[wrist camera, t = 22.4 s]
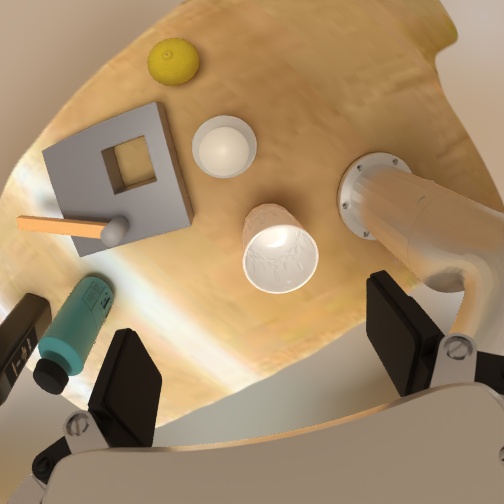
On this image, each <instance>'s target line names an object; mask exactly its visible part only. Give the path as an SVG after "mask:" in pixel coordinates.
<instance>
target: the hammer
mask: <svg viewBox="0 0 504 504" xmlns="http://www.w3.org/2000/svg"><path fill="white" fill-rule="evenodd" d="M17 223H18V230H26V231H35V232H44V233H53V234H62V235H71V236H80V237H89V238H99V239H101V240H102V242H103V243H104V244H105V245H106V246H108V247H114V246H116V245H117V244H118V243H119V242H120V240H121V239H122V238H123V237H124V235H125V234H126V233H127V231H128V230H129V222H128V220H127V219H126V218H125V217H123V216H116V217H114V218H113V219H112V220H111V221H110V222H109V223H102V222H91V221H80V220H69V219H58V218H47V217H35V216H24V215H21V216H19V217H17Z"/></svg>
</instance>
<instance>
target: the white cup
mask: <svg viewBox="0 0 504 504" xmlns="http://www.w3.org/2000/svg"><path fill="white" fill-rule="evenodd" d="M242 239H243V240H242V250H243V268H244V272H245V274H246V276H247V278H248V280H249V281H250V282H251V283H252V284H253V285H254V286H255V287H257V288H258V289H260V290H262V291H265V292H268V293H276V294H279V293H287V292H290V291H293V290H296V289H298V288H299V287H301V286H302V285H304V284H305V283H306V282H307V281H308V280H309V279H310V278H311V277H312V275H313V274H314V272H315V270H316V267H317V264H318V257H319V256H318V248H317V245H316V243H315V241H314V239H313V238H312V237H311V235H310V234H309V233H308V232H307V231H306V230H305V228H304V227H303V226H302V225H301V224H300V223H299V221H298V220H297V219H296V218H295V217H294V216H293V215H292V214H290V213H289V212H288V211H287V210H286V208H284V207H282V206H279V205H277V204H275V203H271V204H261V205H259V206H257V207H255V208H254V209H252V210H251V211H250V213H249V214H248V215H247V217H246V218H245V222H244V226H243V238H242Z"/></svg>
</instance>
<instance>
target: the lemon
mask: <svg viewBox="0 0 504 504" xmlns="http://www.w3.org/2000/svg"><path fill="white" fill-rule="evenodd" d="M198 67H199V55H198V52H197V50H196V48H195V47H194V46H193V45H192V44H191V43H190V42H188V41H186V40H184V39H179V38H170V39H166V40H163V41H161V42H159V43H158V44H157V45H156V46H154V48H153V49H152V50H151V52H150V54H149V57H148V69H149V72H150V74H151V75H152V77H153V78H154V79H155V80H156V81H158V82H159V83H161V84H164V85H169V86H175V85H180V84H183V83H185V82H187V81H189V80H190V79H191V78H192V77H193V76H194V75H195V73H196V72H197V70H198Z"/></svg>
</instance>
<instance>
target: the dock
mask: <svg viewBox="0 0 504 504" xmlns="http://www.w3.org/2000/svg"><path fill="white" fill-rule="evenodd" d="M142 136H145V140H146V144H147V147H148V151H149V154H150V158H151V161H152V165H153V168H154V172H155V175H156V177H155V178H152V179H149V180H146V181H143V182H140V183H137V184H134V185H131V186H128V187H125V186H124V183H123V180H122V177H121V173H120V170H119V167H118V164H117V160H116V157H115V154H114V150H113V147H114V146H117V145H120V144H122V143H125V142H128V141H130V140H133V139H136V138H139V137H142ZM42 153H43V157H44V161H45V164H46V167H47V171H48V174H49V177H50V180H51V183H52V186H53V189H54V192H55V195H56V198H57V201H58V204H59V207H60V209H61V212H62V215H63V217H64V219H69V220H80V221H91V222H102V223H109V222H110V221H111V220H112V219H113V218H114V217H116V216H123V217H125V218H126V219H127V220H128V222H129V230H128V231H127V233H126V234H125V235H124V237H123V238H122V239H121V240H120V242H119V243H118V244H117V245H116V246H114V247H117V246H120V245H124V244H127V243H131V242H134V241H138V240H141V239H145V238H149V237H152V236H156V235H160V234H163V233H167V232H171V231H175V230H178V229H182V228H186V227H190V226H191V224H192V221H193V218H194V213H193V210H192V207H191V203H190V200H189V197H188V193H187V190H186V186H185V183H184V179H183V176H182V172H181V169H180V165H179V162H178V158H177V154H176V151H175V147H174V144H173V140H172V136H171V132H170V129H169V125H168V121H167V117H166V113H165V109H164V105H163V103H159V102H153V103H150V104H147V105H144V106H142V107H139V108H136V109H133V110H131V111H128V112H125V113H123V114H120V115H118V116H115V117H113V118H110V119H108V120H105V121H103V122H101V123H98V124H96V125H94V126H92V127H89V128H87V129H85V130H83V131H81V132H78V133H76V134H74V135H72V136H70V137H68V138H66V139H64V140H62V141H60V142H58V143H56V144H54V145H52V146H50V147H48V148H47V149H45V150H43V151H42ZM71 238H72V240H73V242H74V245H75V247H76V249H77V252H78V254H79V256H80V257H83V256H86V255H89V254H93V253H96V252H99V251H103V250H106V249H110V248H113V247H108V246H106V245H105V244H104V243H103V242H102V240H101V239H99V238H89V237H80V236H71Z"/></svg>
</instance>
